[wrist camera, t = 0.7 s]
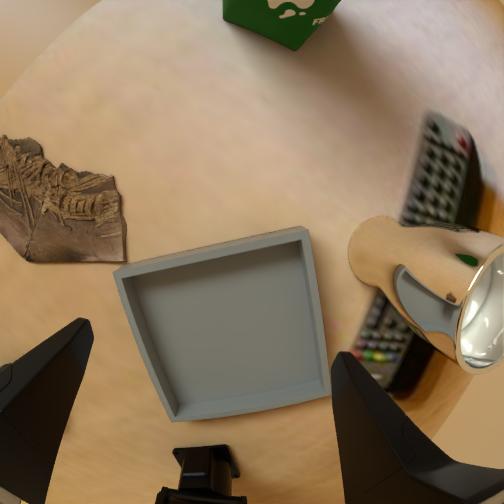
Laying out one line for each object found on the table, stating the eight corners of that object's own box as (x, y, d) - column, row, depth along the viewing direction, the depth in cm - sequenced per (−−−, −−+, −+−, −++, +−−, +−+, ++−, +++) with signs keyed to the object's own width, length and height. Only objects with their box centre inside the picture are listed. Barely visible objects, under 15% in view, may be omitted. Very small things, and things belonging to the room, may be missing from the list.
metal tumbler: (327, 241, 24) (433, 306, 10) (390, 194, 24) (528, 207, 9) (366, 304, 26) (465, 402, 11) (423, 259, 25) (545, 315, 10)
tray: (325, 380, 27) (331, 395, 24) (175, 406, 27) (171, 422, 25) (301, 225, 24) (308, 229, 22) (123, 264, 24) (112, 272, 22)
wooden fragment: (153, 194, 23) (150, 194, 22) (111, 308, 25) (106, 312, 24) (-21, 114, 20) (-26, 113, 19) (-45, 202, 22) (-50, 203, 21)
